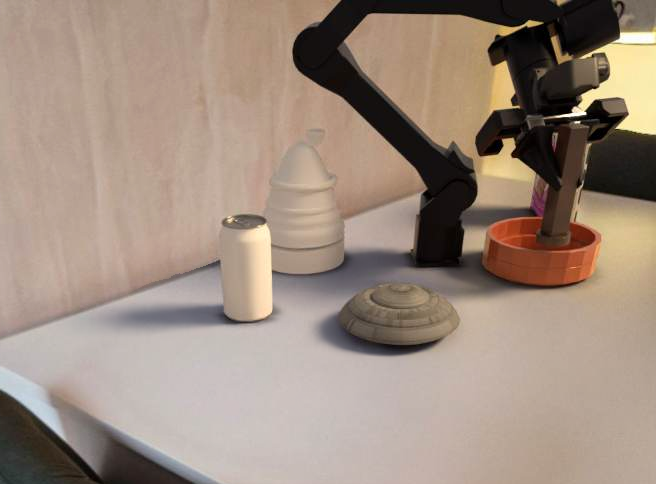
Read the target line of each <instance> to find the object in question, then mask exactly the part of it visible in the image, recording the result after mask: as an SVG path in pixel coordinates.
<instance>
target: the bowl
mask: <svg viewBox="0 0 656 484" xmlns="http://www.w3.org/2000/svg"><path fill="white" fill-rule="evenodd" d="M542 219H543V217H538V216H522V217H521V216H519V217H512V218H506V219H503V220H499V221H496V222H494V223H492V224H491V225H489V226H487V228H486V232H485V238H484V245H483V253H482V258H481V264H482V266H483V267H484V269H485V270H487V271H488V272H489V273H492V274H493V275H495V276H496V277H499V278H502V279H504V280H506V281H509V282H513V283H517V284H523V285H528V286H538V287H539V286H542V287H551V286H554V287H555V286H562V285H563V286H564V285H568V284H572V283H577V282H580V281H583V280H585V279H587V278H590V276H592V275H593V274H594V272H595V270H596V265H597V261H598V258H599V255H600V250H601V246H602V234H601V233H599V232H598V231H597V230H596V229H595V228H592V227H590V226H588V225H586V224H584V223H580V222H577V221H576V222H573V221H570V224H569V229H568V231H570V232H571V238H570V243H569V244H568V245H566V246H563V247H547V246H542V245H539V244H537V243H536V242H535V236H536V231H537V230H538V229H541V224H542Z"/></svg>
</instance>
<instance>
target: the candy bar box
mask: <svg viewBox="0 0 656 484" xmlns="http://www.w3.org/2000/svg"><path fill="white" fill-rule="evenodd" d="M572 111H573V113H582V112H584V111H585V110H584V109H582V108H581V107H579V105H578V106H577V107H574V108H573V109H572ZM573 113H572V114H573ZM557 136H558V134H553V137H552V146H553V149H554V152H555V147H556V141H557ZM591 147H592V143H591V144H587V145H586V151H585V160H584V172H583V183H582V185H581V186H580V187H579V188H578V189H576V194H575V199H574V204H573V209H572V214H571V219H570V221H573V222H577V220H576V219H577V216H578V212H579V211H578V210H579V206H580V202H581V196H582V193H583V192H582V191H583V188H584V187H583V186H584V182H585V176H586V173H587V168H588V163H589V158H590V153H591ZM548 186H549V185H548V184H547V183H546V182H545V181H544V180H543V179H542V178H541V177H540V176H539V175H538V174H536V173H535V175H534V183H533V189H532V194H531V201H530V205H529V209H530V210H531V211H532V212H533V213H534V214H535V215H536V217H543V213H544V208H545V202H546V197H547V191H548Z"/></svg>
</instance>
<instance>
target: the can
mask: <svg viewBox="0 0 656 484" xmlns="http://www.w3.org/2000/svg"><path fill="white" fill-rule="evenodd" d="M266 222H267V220H266V218H264V217H263V215H259V214H254V213H239V214H233V215H229V216H226V217H223V219H221V222H220V223H221V225H222V226H221V228H220V230H219V233H218V245H219V260H220V276H221V290H222V303H223V304H222V305H223V313H224V314H225V316H226V317H227V318H228V319H230V320H232V321H234V322H238V323H255V322H259V321H262V320H265V319H266V318H268V317H269V316H270V315H271V314H272V312H273V275H272V273H273V270H272V267H271V237H270V231H269V229H268V227H267V224H266Z"/></svg>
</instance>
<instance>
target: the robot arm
mask: <svg viewBox="0 0 656 484" xmlns="http://www.w3.org/2000/svg"><path fill="white" fill-rule="evenodd" d="M373 14H374V15H376V14H379V15H380V14H382V15H383V14H384V15H430V16H431V15H432V16H433V15H436V16H437V15H438V16H439V15H440V16H462V17H467V18H470V19H474V20H477V21H478V20H479V21H481V22H484V23H488V24H492V25H497V26H502V27H506V28H518V29H516V30H514V31H512V32H510V33H509V34H505V35H501V34H499V33H497V34H495V35H494V39H493V41H492V42H491V43H490V45H489V46H488V47H487V49H486V51H487V55H488V59H489V62H490V65H491V67H496V66H497V65H500V64H502V63H504V62H506V66H507V69H508V73H509V76H510V79H511V83H512V86H513V91H514V94H513V95H512V97H511V98H510V104H511V106H512V108H502V109H494V110H492V112H491V113H490V114H489V116H488V117H487V119H486V121H485V122H484V123H483V125H482V126H481V127H480V129H479V130H478V131H477V133H476V134H475V140H474V144H475V148H476V151H477V155H478V157H480V158H483V157H491V156H498V155H499V154H500V153H501V152H502V150H503V148H504V146H505V145H504V141H503V140H508V139H513V141H514V147H515V148H513V150H512V151H511V153H510V157H511V158H512V159H517V160H518V161H520V162H521V163H523V164H524V165H525V166H527V168H529V169H531V171H533V172H534V173H535V175H536V174H538V175H539V176H540V177H541V178H542V179H543V180H544V181H545V182H546V183H547V184H548V185H549V186H550V187H551V188H552V189H554V190H555V191H559V190H560V189H561V188H562V187H563V185H562V179H561V174H560V170H559V167H558V163H557V160H556V156H555V153H554V149H553V146H552V137H553V134H558V130H559V125H562V124H571V123H579V124H582V125H585V126H588V127H589V130H588V135H587V140H586V145H587V144H591V145H592V144H599V143H601V142H603V141H605V140H607V138H608V137H609V136H610V135H611V134H612V133H613V132H614V131H615V130H616V129H617V128H618V127H619V126H620V125H621V123H623V122H624V120H626V118H627V117H629V115H630V112H629V109H628V107H627V103H626V100H625V98H623V97H619V96H615V97H606V98H604V97H603V98H597V99H596V98H595V99H594V100H593V101H592V102H591V103H589V105H588V106H587V108H586V109H585V110H584V112H582V113H573V111H572V109H573V108H574V107H577V106H578V107H579V105H580V104H581V103H583V101H584V99H583V96H582V95H584V94H586V93H588V92H589V91H592V90H597V89H599V88H601V87H600V86H601V85H600V84H603V83H605V82H607V81H608V80H609V78H610V76H611V65H610V64H611V63H610V61H609V59H608V56H607V54H606V52H605V51H602V52H595V51H597V50H599V49H601V48H604V47H606V46H608V45H610V44H612V43H614V42H616V41H618V40H620V39H621V27H620V21H619V15H618V11H617V10H616V9H615V6H614V3H613V0H565V1H563V2H561V3H559V4H558V0H339V2H338V3H337V4H336V5H335V6H334V7H333V8H332V9H331V10H330V12H329V13H328V14H327V15H326V16H325V17H324V18H323V19H322V21H314V22H312V23H310V24H308V25H307V26H306V27H305V28H303V29H302V30H301V31H300V32H299V33H298V34H297V35H296V37H295V39H294V42H293V44H292V49H291V53H292V55H291V56H292V62H293V65H294V67H295V68H296V70H297V72H299V73H300V74H301V75H302V76H304V77H306V78H307V79H309V80H310V81H312V82H313V83H315V84H316V85H318V86H319V87H320V88H323V89H324V90H326V91H329V92H330V93H333V94H334V95H336V96H339V97H340V98H342V99H343V100H344V101H345V102H346V103H347V104H348V105H349V106H350V107H351V108H352V109H353V110H354V111H355V112H356V113H358V115H359V116H361V117H362V118H363V120H365V121H366V122H367V123H368V125H370V126H371V127H372V128H373V129H374V130H375V131H376V132H377V134H379V135H380V136H381V137H382V138H383V139H384V140H386V142H388V144H389V145H390V146H392V147H393V149H394V150H396V152H397V153H399V154H400V156H402V157H403V158H404V159H405V160H406V161H407V162H408V163H409V164H410V165H411V166H412V167H413V168H414V169H415V171H416V172H417V174H418V176H419V177H420V179H421V181H422V182H423V184H424V186H425V188H426V189H425V190H424V191H423V192H422V193H421V194H420V198H419V199H420V200H419V211H418V212H419V213H417V214H416V215H415V223H414V233H413V235H414V237H413V245H412V248H411V249H410V255H411V257H412V260H413V261H414V264H415V266H417V267H444V266H447V267H448V266H460V265H461V260H460V258H461V257H462V255H463V247H464V239H465V231H466V230H465V228H464V227H463V218H462V217H461V216H462V214H463V212H465V211H467V210H469V208H471V207H472V205H473V204H474V203H475V201H476V200H477V196H478V195H479V190H478V189H479V185H478V177H477V172H476V170H475V164H474V158H473V157H470V156H467V155H466V154H465V153H464V152H463V151H462V150H461V148H460V147H459V146H458V144H457V143H456V141H455V140H452V141H451V142H450V143H449V145H448V147H447V148H446V147H445V146H442V145H440V144H438V143H436V142H435V141H434V140H432V138H431V137H430V136H428V135H427V134H426V132H424V131H423V129H421V128H420V126H418V125H417V124H416V123H415V122H414V121H413V119H411V118H410V117H409V116H408V115H407V114H406V113H405V111H403V110H402V109H401V107H399V106H398V105H397V104H396V102H395V101H394V100H393V99H391V97H389V96H388V95H387V94H386V93H385V92H384V91H383V90H382V89H381V88H380V87H379V86H378V85H377V84H376V83H375V82H374V81H373V80H372V79H371V78H370V77H369V76H368V75H367V74H366V73H365V72H364V71H363V70H362V68H361V67H360V65H359V64H358V62H357V59H356V58H355V57H354V55H353V53H352V52H351V49H350V48H349V47H348V45H347V44H346V42H345V40H346V39H348V37H349V36H350V35H351V34H352V33H353V32H354V31H355V29H356V28H357V27H358V26H359V25H360V24H361V23H362V22H363V21H364V20H365V19H366V17H367V16H368V15H373ZM528 22H537V23H540V24H537V25H533V26H528V25H525V24H526V23H528ZM524 25H525V26H524ZM521 26H523V27H521ZM519 27H520V28H519ZM552 38H555V39H556V42H557V46H558V50H559V53H560V56H561V57H562V58H563V57H565V56H567V55H568V57H570V58H571V59H569V60H564V61H562V62H561V63H559V59H558V58H557V54H556V51H555V47H554V44H553V40H552ZM588 54H591V56H586V55H588ZM584 56H586V57H585V58H583V57H584ZM572 113H573V114H572ZM586 145H585V150H584V155H583V160H582V165H581V169H580V174H579V179H578V184H577V189H578V188H579V187H580V186H581V185H582V183H583V184H584V182H583V172H584V160H585V151H586Z"/></svg>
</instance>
